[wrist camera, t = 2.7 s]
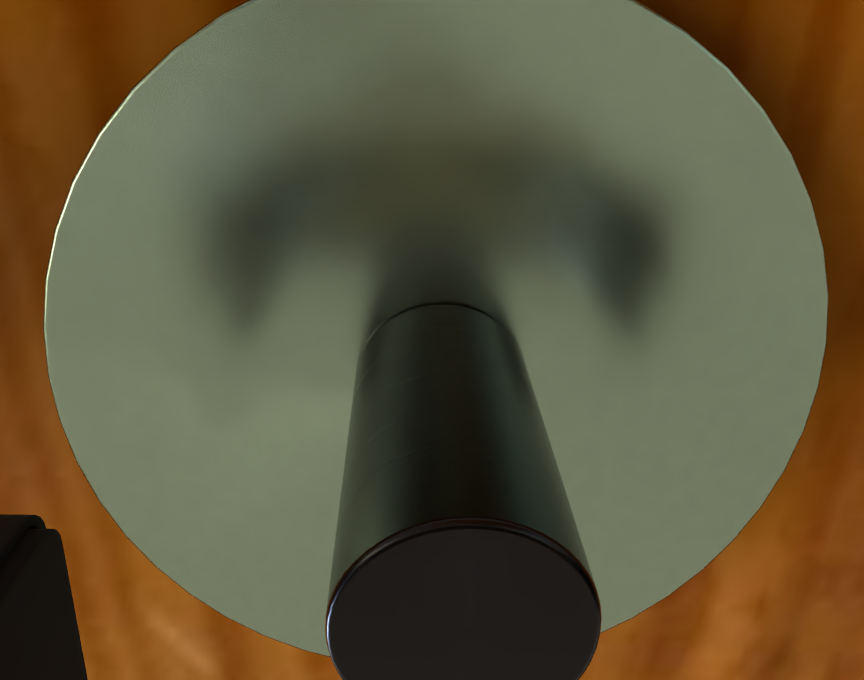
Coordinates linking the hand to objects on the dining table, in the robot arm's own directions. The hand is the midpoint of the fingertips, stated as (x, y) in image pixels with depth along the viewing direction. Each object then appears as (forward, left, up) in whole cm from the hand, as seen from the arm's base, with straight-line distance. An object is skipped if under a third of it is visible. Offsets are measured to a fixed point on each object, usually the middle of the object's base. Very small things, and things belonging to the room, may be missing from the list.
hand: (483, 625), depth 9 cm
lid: (0, 0, -6) cm, 6 cm away
